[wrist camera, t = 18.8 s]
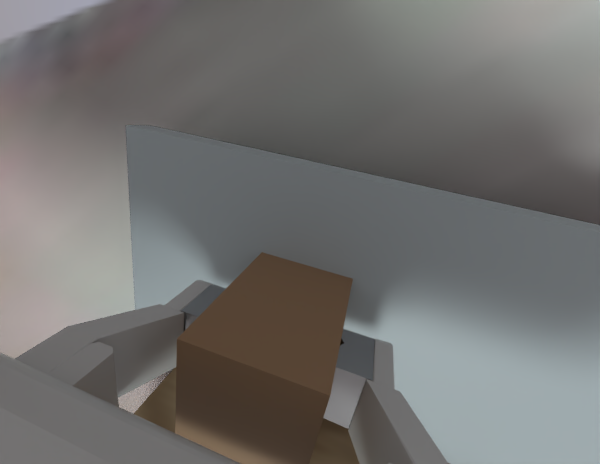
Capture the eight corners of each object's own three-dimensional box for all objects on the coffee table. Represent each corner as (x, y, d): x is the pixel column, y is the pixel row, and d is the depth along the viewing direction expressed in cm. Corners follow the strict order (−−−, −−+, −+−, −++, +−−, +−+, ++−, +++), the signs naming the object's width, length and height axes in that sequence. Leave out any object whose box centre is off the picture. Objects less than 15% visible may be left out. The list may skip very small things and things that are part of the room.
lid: (155, 326, 14) (26, 437, 9) (151, 125, 11) (-64, 121, 6) (553, 473, 11) (703, 774, 6) (739, 256, 7) (1546, 539, 2)
